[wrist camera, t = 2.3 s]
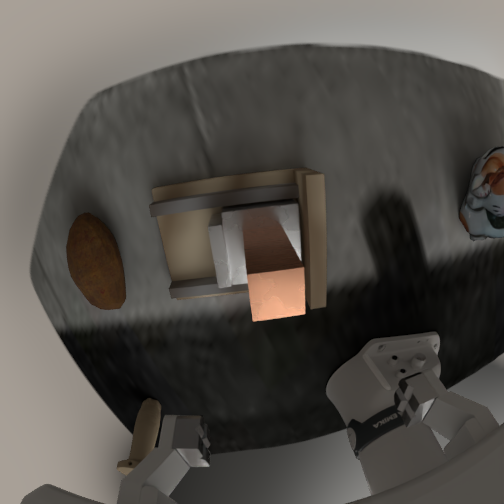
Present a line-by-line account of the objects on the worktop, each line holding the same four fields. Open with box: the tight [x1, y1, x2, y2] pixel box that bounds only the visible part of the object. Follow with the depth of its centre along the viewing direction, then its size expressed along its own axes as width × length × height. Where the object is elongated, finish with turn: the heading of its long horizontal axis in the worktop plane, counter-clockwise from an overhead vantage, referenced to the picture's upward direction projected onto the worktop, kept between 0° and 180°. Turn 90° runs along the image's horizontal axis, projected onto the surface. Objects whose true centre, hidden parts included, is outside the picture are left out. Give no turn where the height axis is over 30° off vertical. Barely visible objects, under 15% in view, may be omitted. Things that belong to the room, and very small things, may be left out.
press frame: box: [149, 168, 327, 309], centre depth 27 cm, size 16×13×6 cm
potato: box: [66, 212, 126, 310], centre depth 26 cm, size 7×12×7 cm, turn 13°
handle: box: [117, 398, 161, 475], centre depth 33 cm, size 5×6×15 cm
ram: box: [208, 198, 305, 321], centre depth 23 cm, size 8×7×12 cm
